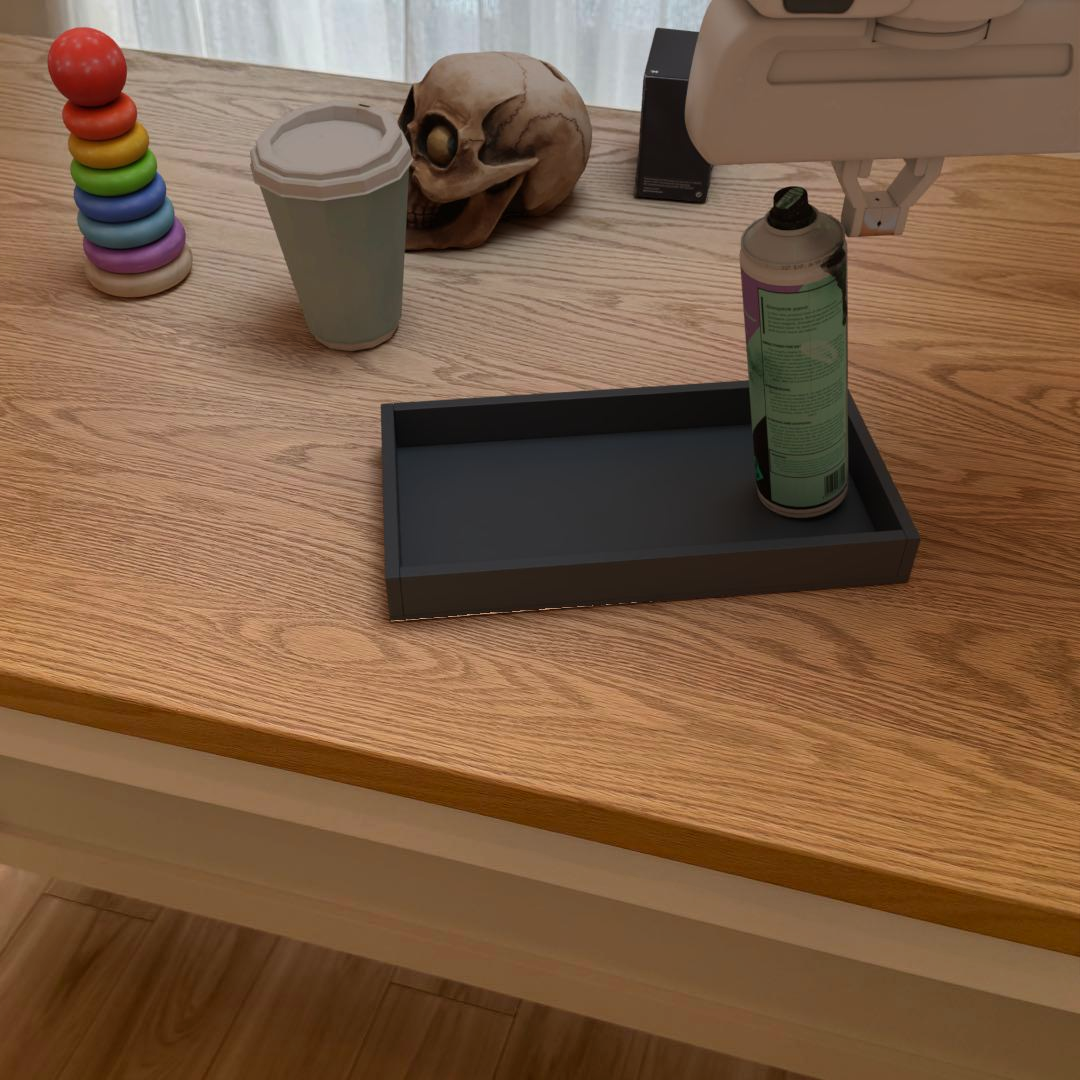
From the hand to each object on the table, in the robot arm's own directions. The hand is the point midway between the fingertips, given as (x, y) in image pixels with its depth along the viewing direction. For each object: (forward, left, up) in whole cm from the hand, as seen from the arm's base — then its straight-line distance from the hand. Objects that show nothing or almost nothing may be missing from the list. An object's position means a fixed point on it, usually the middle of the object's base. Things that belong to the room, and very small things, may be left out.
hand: (870, 231), depth 64 cm
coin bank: (+18, -38, -19) cm, 46 cm away
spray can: (+1, 0, -18) cm, 18 cm away
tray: (+11, 0, -18) cm, 22 cm away
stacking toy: (+44, -31, -19) cm, 57 cm away
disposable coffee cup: (+28, -22, -19) cm, 41 cm away
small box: (0, -43, -19) cm, 47 cm away
